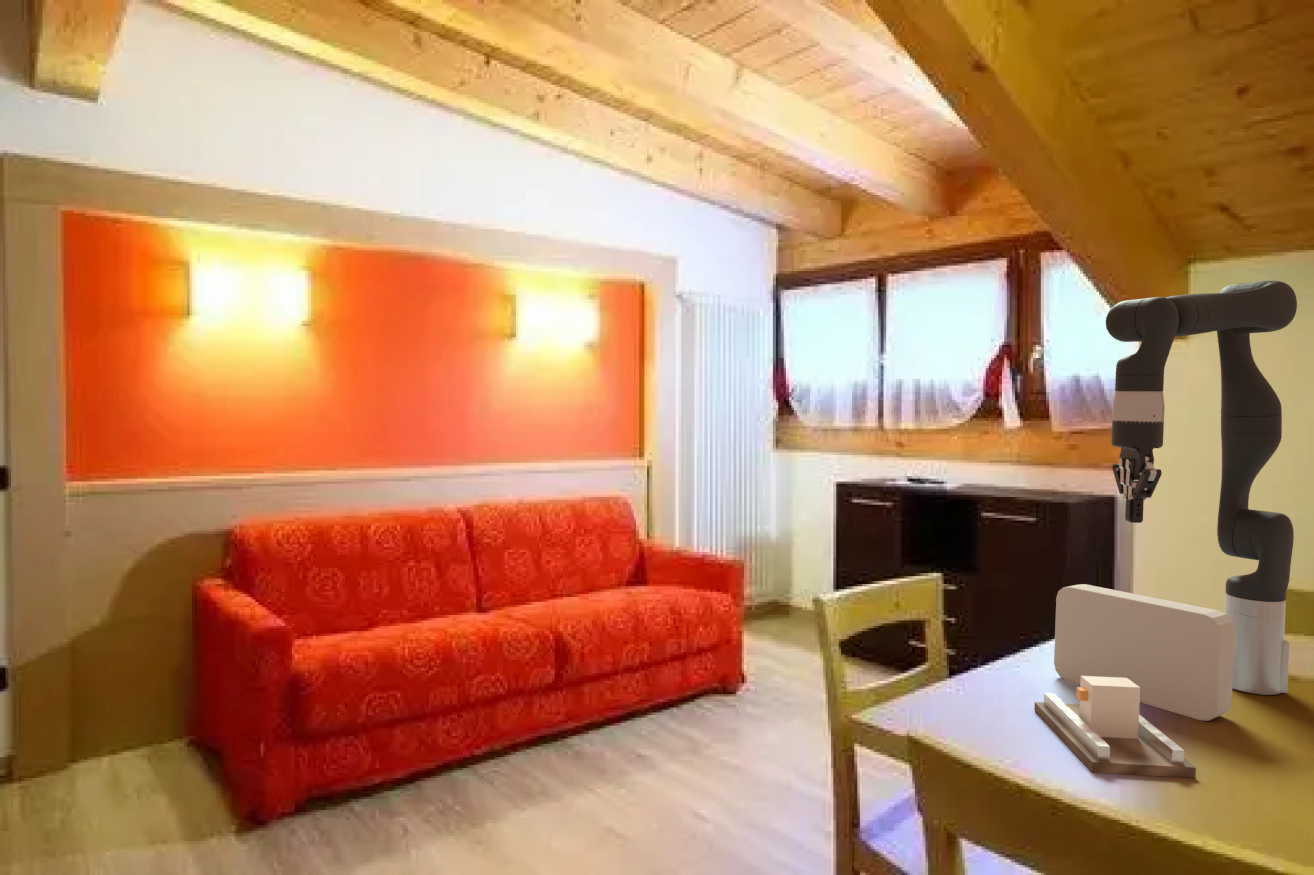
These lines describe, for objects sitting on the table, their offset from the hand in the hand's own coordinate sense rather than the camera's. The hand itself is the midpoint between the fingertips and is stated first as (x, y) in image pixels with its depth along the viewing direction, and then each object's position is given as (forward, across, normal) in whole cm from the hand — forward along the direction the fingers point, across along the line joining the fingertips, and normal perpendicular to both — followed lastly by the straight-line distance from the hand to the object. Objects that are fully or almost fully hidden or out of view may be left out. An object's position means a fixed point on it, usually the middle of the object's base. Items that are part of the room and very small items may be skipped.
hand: (1133, 521), depth 141 cm
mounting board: (+33, -12, +8) cm, 36 cm away
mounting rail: (+32, -12, +8) cm, 35 cm away
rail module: (+32, -12, +8) cm, 35 cm away
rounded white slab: (+33, +10, -6) cm, 35 cm away
